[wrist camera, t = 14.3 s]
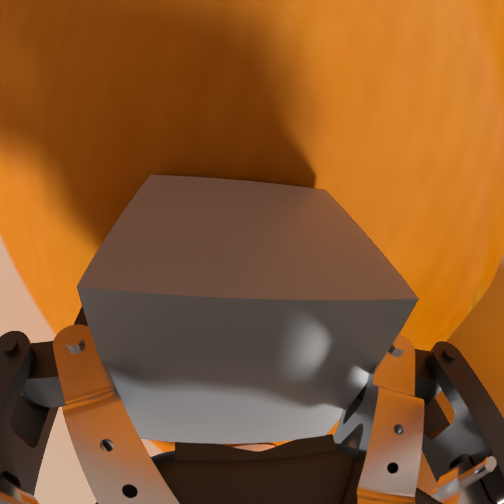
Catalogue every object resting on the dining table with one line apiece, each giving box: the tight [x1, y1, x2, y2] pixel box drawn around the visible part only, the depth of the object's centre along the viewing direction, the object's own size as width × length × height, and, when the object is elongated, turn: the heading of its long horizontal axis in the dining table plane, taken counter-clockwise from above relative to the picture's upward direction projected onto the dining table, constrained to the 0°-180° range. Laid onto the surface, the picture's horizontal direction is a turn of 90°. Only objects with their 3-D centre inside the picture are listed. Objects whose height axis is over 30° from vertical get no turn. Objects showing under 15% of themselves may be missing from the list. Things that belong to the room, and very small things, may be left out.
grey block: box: [77, 175, 419, 444], centre depth 9 cm, size 7×7×7 cm
